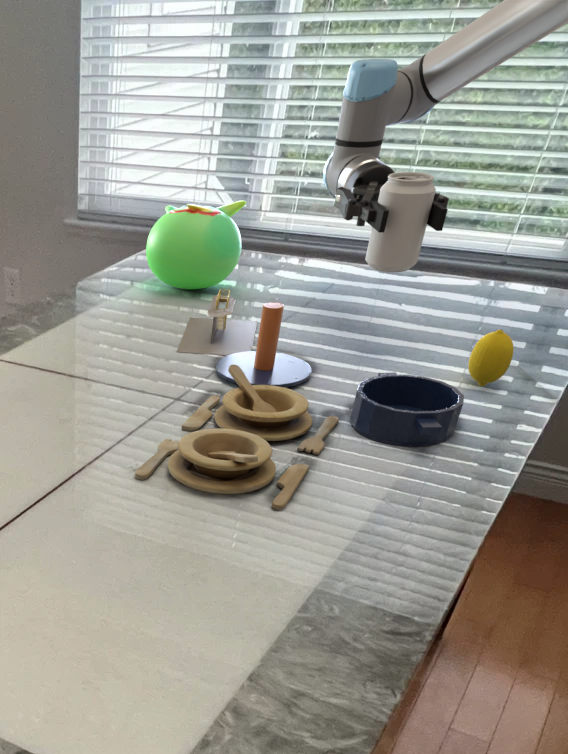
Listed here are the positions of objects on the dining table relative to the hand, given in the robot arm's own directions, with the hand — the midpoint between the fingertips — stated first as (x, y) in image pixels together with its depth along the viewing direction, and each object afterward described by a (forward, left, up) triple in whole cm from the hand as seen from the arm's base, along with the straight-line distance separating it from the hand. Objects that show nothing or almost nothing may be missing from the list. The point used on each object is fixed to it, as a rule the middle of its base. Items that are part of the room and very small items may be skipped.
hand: (413, 220), depth 120 cm
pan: (+4, +24, -20) cm, 31 cm away
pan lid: (+19, +4, -19) cm, 27 cm away
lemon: (-12, +10, -20) cm, 26 cm away
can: (0, -5, -7) cm, 9 cm away
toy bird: (+24, -43, -20) cm, 53 cm away
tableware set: (+27, +30, -20) cm, 45 cm away
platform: (+23, -14, -20) cm, 34 cm away
